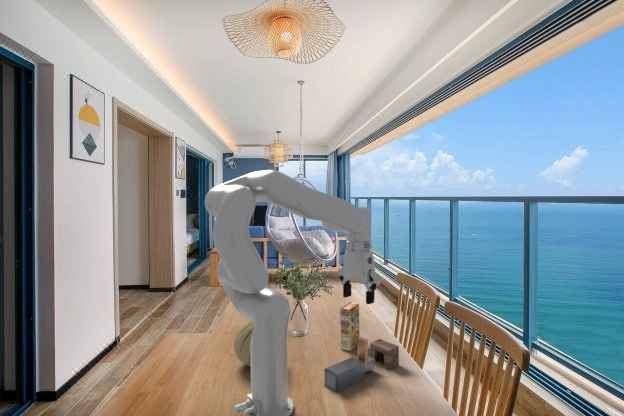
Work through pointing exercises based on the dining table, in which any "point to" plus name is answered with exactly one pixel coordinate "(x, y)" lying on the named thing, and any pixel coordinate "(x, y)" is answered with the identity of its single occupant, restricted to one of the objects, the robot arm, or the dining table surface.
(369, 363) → the sliding latch bolt
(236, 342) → the cantaloupe
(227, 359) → the dining table surface
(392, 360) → the socket
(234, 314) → the dining table surface
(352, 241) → the robot arm
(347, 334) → the candy box
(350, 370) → the dark grey rectangular box
